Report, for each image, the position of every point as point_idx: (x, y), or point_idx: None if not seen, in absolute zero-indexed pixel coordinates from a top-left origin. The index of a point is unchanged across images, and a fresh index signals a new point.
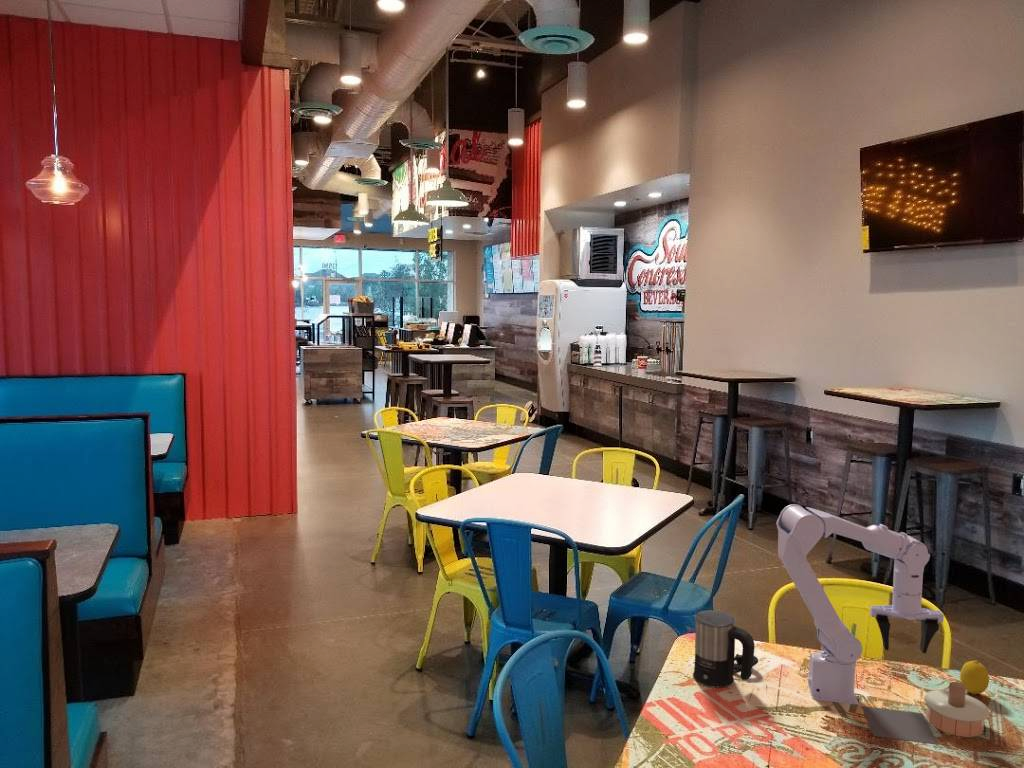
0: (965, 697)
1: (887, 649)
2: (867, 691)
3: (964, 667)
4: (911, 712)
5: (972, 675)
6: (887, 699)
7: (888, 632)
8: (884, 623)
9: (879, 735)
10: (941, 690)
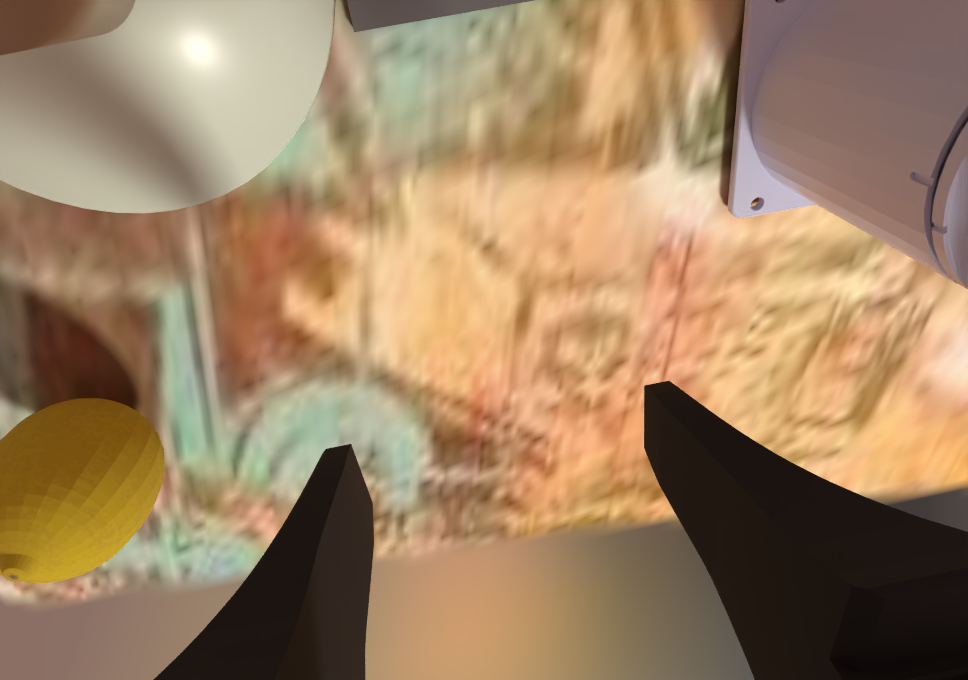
0: (27, 139)
1: (653, 386)
2: (644, 218)
3: (105, 513)
4: (423, 11)
5: (52, 459)
6: (548, 166)
7: (759, 499)
8: (957, 574)
9: None
10: (218, 188)
